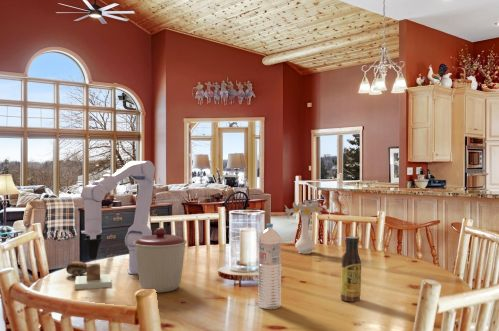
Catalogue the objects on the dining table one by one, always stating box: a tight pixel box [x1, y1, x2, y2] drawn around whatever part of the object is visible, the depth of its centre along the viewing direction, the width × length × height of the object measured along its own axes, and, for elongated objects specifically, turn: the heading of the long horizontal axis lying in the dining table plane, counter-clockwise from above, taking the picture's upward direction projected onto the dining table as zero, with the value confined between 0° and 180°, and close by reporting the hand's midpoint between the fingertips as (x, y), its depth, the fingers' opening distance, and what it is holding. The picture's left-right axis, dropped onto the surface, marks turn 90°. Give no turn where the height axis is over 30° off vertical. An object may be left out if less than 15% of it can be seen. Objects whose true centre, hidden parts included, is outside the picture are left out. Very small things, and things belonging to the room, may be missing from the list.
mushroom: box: [65, 260, 88, 277], centre depth 185 cm, size 8×8×6 cm
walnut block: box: [86, 262, 101, 281], centre depth 173 cm, size 4×4×5 cm
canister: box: [133, 227, 188, 294], centre depth 166 cm, size 18×18×21 cm
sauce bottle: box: [340, 236, 362, 303], centre depth 153 cm, size 7×6×20 cm
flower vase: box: [284, 200, 324, 255], centre depth 232 cm, size 13×18×25 cm
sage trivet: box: [74, 273, 112, 290], centre depth 172 cm, size 12×12×2 cm
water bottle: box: [257, 223, 282, 310], centre depth 146 cm, size 7×7×25 cm
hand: (93, 256), depth 172 cm, fingers open, 7 cm apart
